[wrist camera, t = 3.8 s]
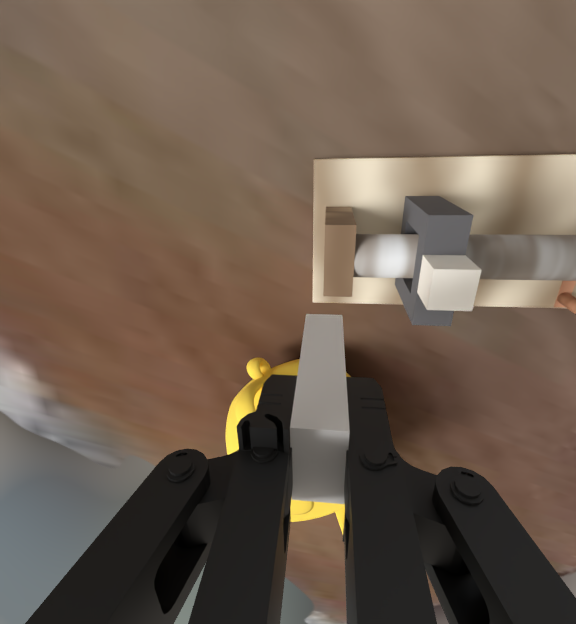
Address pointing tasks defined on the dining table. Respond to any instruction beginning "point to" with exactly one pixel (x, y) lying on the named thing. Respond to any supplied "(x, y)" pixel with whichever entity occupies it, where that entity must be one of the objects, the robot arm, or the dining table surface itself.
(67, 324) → the dining table surface
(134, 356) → the dining table surface
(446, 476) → the robot arm
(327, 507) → the teapot
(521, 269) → the pipe rig
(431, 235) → the grey sliding frame
